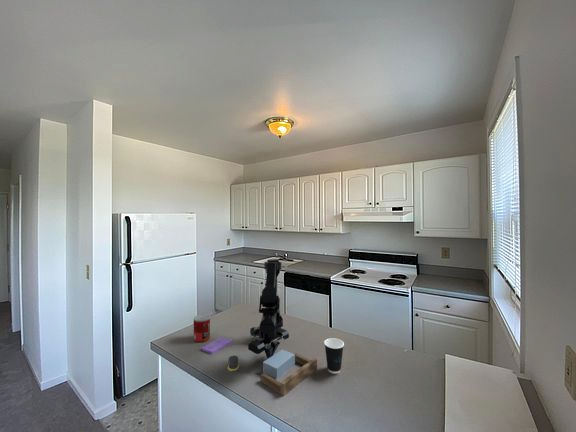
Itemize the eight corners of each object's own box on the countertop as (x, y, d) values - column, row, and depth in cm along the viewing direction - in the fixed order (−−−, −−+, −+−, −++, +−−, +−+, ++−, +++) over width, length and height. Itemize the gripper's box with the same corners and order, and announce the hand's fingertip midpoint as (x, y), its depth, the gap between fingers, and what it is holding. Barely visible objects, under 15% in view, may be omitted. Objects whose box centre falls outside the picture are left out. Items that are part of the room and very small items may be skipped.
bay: (295, 358, 110) (295, 349, 110) (317, 369, 102) (317, 359, 102) (261, 381, 95) (261, 370, 95) (283, 395, 87) (283, 384, 87)
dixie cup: (339, 378, 96) (339, 350, 96) (320, 371, 101) (320, 344, 101) (347, 368, 103) (347, 341, 103) (329, 362, 107) (329, 336, 107)
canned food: (205, 343, 124) (205, 320, 124) (190, 341, 125) (190, 319, 125) (212, 336, 131) (212, 314, 131) (198, 334, 133) (198, 313, 133)
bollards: (272, 342, 124) (272, 334, 124) (279, 345, 121) (279, 337, 121) (225, 368, 103) (225, 358, 103) (232, 372, 100) (232, 362, 100)
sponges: (201, 351, 117) (201, 347, 117) (221, 339, 128) (221, 336, 128) (212, 355, 114) (211, 351, 114) (231, 343, 125) (231, 339, 125)
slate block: (281, 359, 110) (281, 349, 110) (294, 365, 106) (294, 354, 106) (263, 373, 101) (263, 362, 100) (276, 380, 96) (276, 368, 96)
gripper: (271, 311, 118) (271, 345, 118) (239, 324, 104) (239, 362, 104) (289, 318, 111) (289, 353, 111) (257, 332, 97) (257, 373, 97)
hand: (269, 360), depth 106 cm, fingers closed
